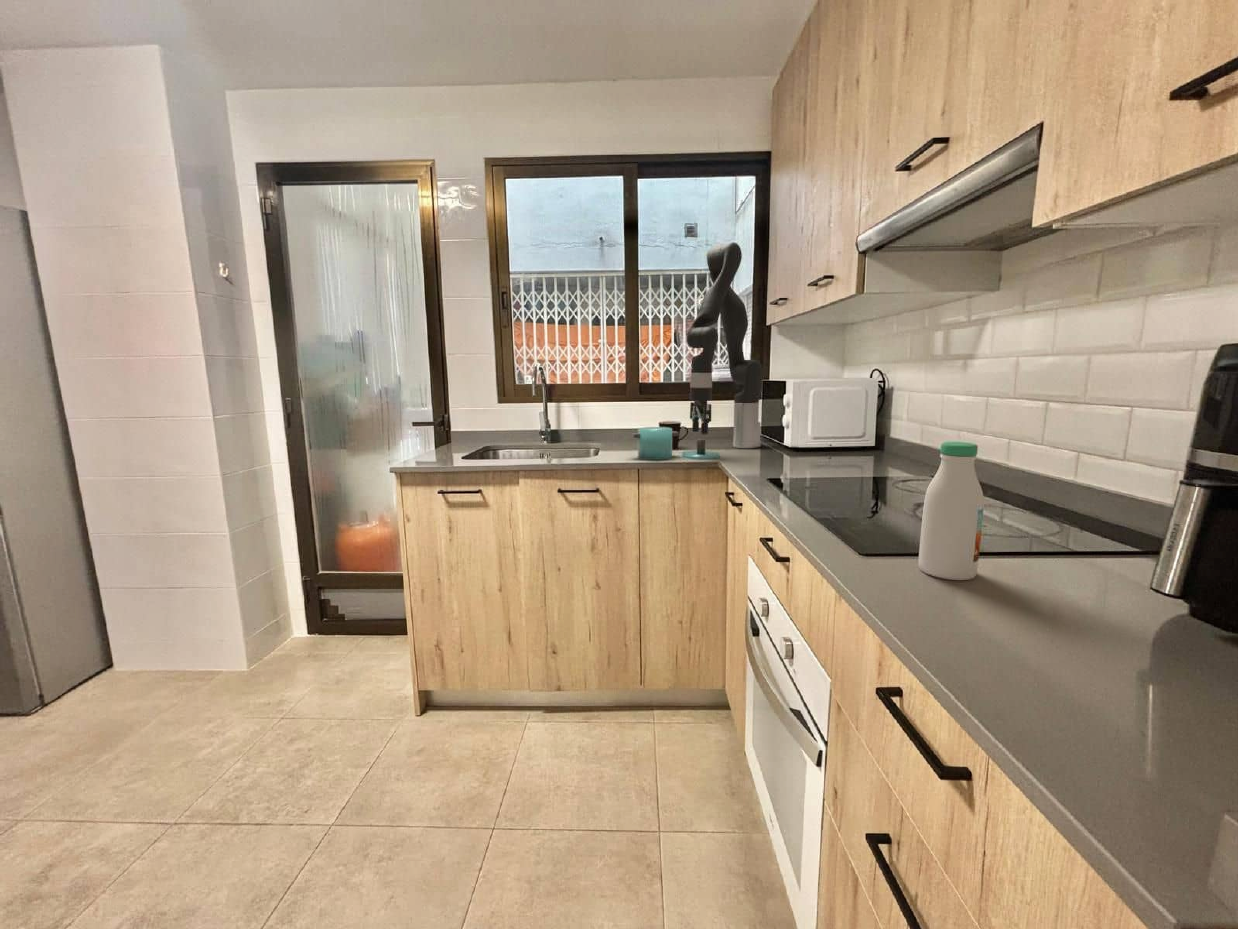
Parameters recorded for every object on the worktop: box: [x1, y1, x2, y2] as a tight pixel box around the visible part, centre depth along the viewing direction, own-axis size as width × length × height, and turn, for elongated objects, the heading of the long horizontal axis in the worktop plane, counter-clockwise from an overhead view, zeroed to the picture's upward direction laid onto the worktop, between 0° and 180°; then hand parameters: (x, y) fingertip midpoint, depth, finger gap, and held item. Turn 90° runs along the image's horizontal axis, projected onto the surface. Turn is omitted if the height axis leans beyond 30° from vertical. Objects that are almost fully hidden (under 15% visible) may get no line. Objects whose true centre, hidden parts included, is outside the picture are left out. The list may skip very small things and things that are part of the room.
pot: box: [630, 426, 680, 461], centre depth 188 cm, size 16×12×10 cm
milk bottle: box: [918, 441, 985, 581], centre depth 81 cm, size 8×8×20 cm
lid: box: [682, 438, 721, 460], centre depth 189 cm, size 13×13×6 cm
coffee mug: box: [658, 420, 689, 450], centre depth 207 cm, size 12×9×10 cm
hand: (699, 432), depth 188 cm, fingers open, 8 cm apart
